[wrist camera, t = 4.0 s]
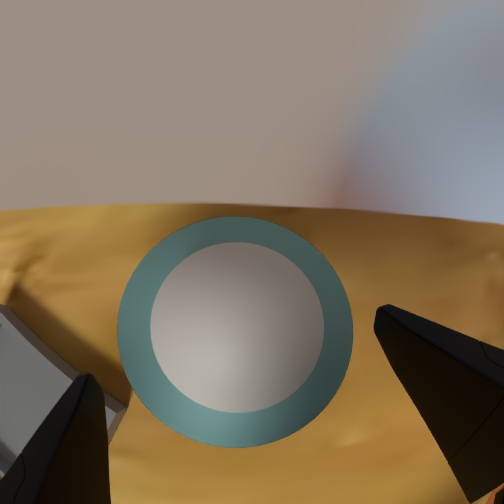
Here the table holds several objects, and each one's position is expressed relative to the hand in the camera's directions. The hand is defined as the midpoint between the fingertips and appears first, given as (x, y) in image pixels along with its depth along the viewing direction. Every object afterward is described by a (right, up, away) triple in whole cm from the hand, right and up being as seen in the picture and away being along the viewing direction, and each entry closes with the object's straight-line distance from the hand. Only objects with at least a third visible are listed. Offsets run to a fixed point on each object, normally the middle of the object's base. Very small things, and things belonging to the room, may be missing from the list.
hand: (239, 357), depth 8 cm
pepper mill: (-1, -2, +8) cm, 8 cm away
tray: (-14, -8, +5) cm, 17 cm away
